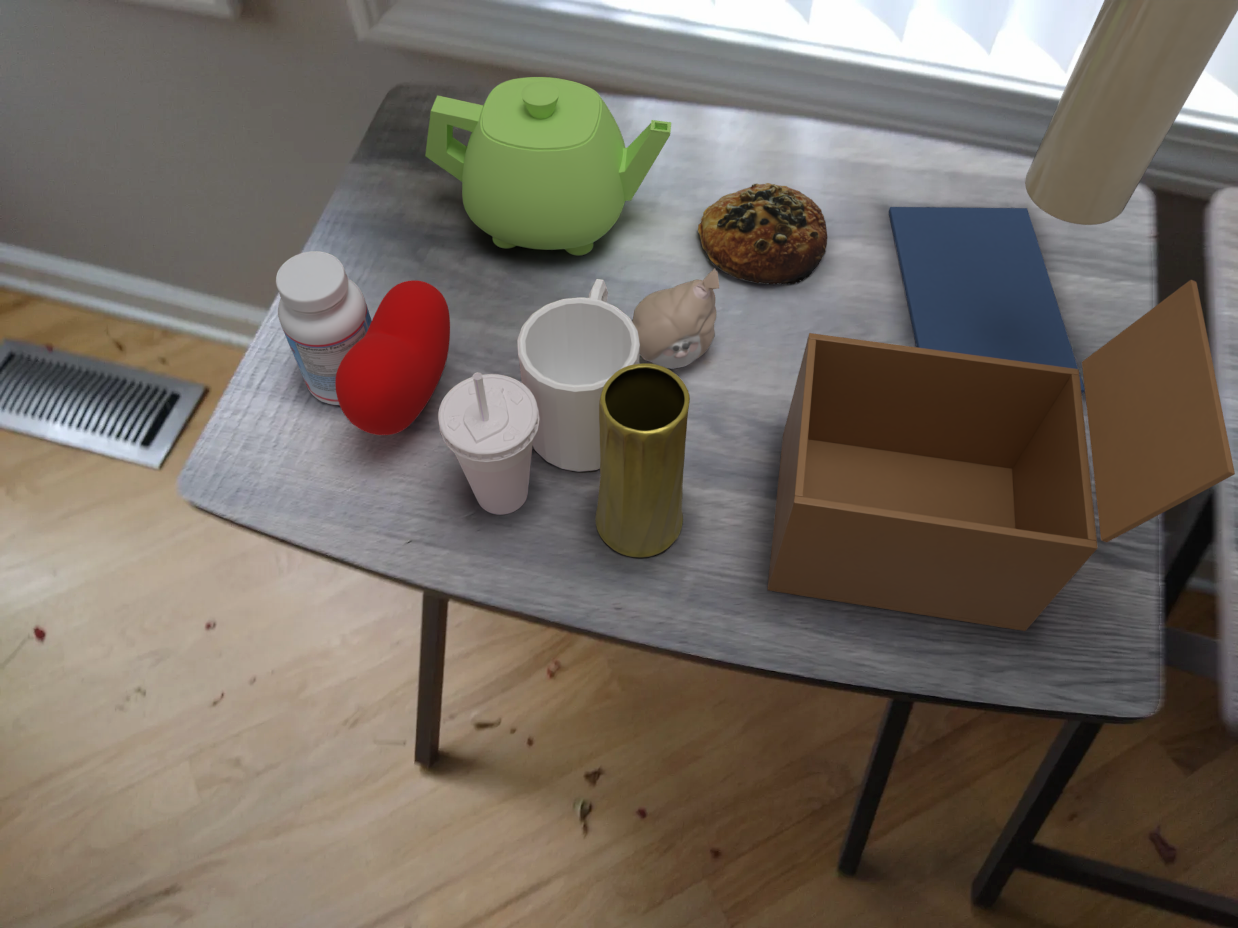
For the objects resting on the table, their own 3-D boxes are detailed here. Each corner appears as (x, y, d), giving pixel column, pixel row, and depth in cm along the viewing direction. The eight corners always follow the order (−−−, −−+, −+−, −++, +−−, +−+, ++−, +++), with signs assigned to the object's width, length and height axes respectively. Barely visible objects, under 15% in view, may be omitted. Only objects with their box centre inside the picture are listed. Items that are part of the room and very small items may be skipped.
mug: (653, 354, 77) (659, 264, 69) (624, 480, 71) (626, 398, 62) (554, 338, 78) (547, 247, 70) (516, 462, 72) (503, 378, 63)
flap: (1081, 361, 61) (1086, 364, 61) (1100, 540, 54) (1106, 543, 54) (1190, 279, 55) (1196, 281, 55) (1229, 471, 48) (1235, 474, 48)
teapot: (672, 175, 89) (680, 49, 78) (656, 284, 81) (663, 161, 71) (454, 155, 90) (433, 29, 79) (420, 260, 83) (392, 137, 72)
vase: (583, 543, 68) (577, 423, 56) (612, 473, 71) (612, 345, 59) (667, 569, 67) (680, 453, 55) (693, 496, 70) (710, 371, 58)
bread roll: (792, 308, 80) (795, 258, 76) (674, 267, 84) (672, 219, 80) (851, 231, 85) (856, 182, 81) (737, 197, 90) (738, 148, 86)
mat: (1082, 395, 75) (1085, 390, 75) (925, 393, 75) (927, 388, 75) (1024, 213, 86) (1027, 207, 86) (888, 211, 86) (889, 206, 86)
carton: (1016, 467, 72) (1079, 368, 62) (1025, 631, 65) (1098, 548, 55) (782, 434, 73) (809, 332, 63) (767, 590, 66) (793, 502, 56)
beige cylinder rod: (1146, 195, 64) (1324, -109, 48) (1087, 240, 61) (1254, -63, 45) (1063, 145, 66) (1206, -159, 50) (1004, 186, 64) (1134, -118, 48)
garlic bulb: (705, 390, 75) (714, 320, 69) (623, 376, 76) (624, 305, 69) (717, 325, 79) (727, 253, 72) (639, 313, 79) (642, 240, 73)
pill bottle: (318, 344, 77) (278, 239, 68) (394, 350, 77) (364, 245, 68) (297, 406, 74) (252, 304, 65) (377, 412, 74) (342, 311, 64)
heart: (409, 485, 70) (382, 401, 62) (342, 463, 71) (306, 377, 63) (477, 365, 76) (461, 274, 68) (414, 346, 77) (390, 254, 69)
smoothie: (444, 520, 69) (410, 400, 57) (473, 447, 72) (447, 319, 61) (532, 539, 68) (516, 421, 56) (557, 464, 71) (547, 338, 60)
